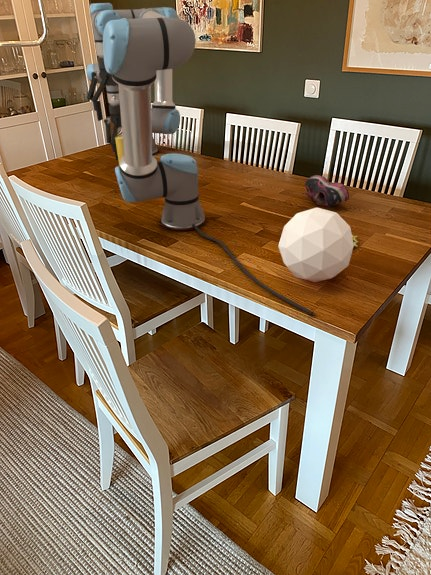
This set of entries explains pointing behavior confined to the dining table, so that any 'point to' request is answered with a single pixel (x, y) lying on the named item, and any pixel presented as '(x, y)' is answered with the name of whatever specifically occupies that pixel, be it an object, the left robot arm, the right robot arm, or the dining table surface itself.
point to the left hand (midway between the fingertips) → (125, 159)
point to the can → (119, 147)
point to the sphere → (316, 244)
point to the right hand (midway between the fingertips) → (117, 120)
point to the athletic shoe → (326, 191)
